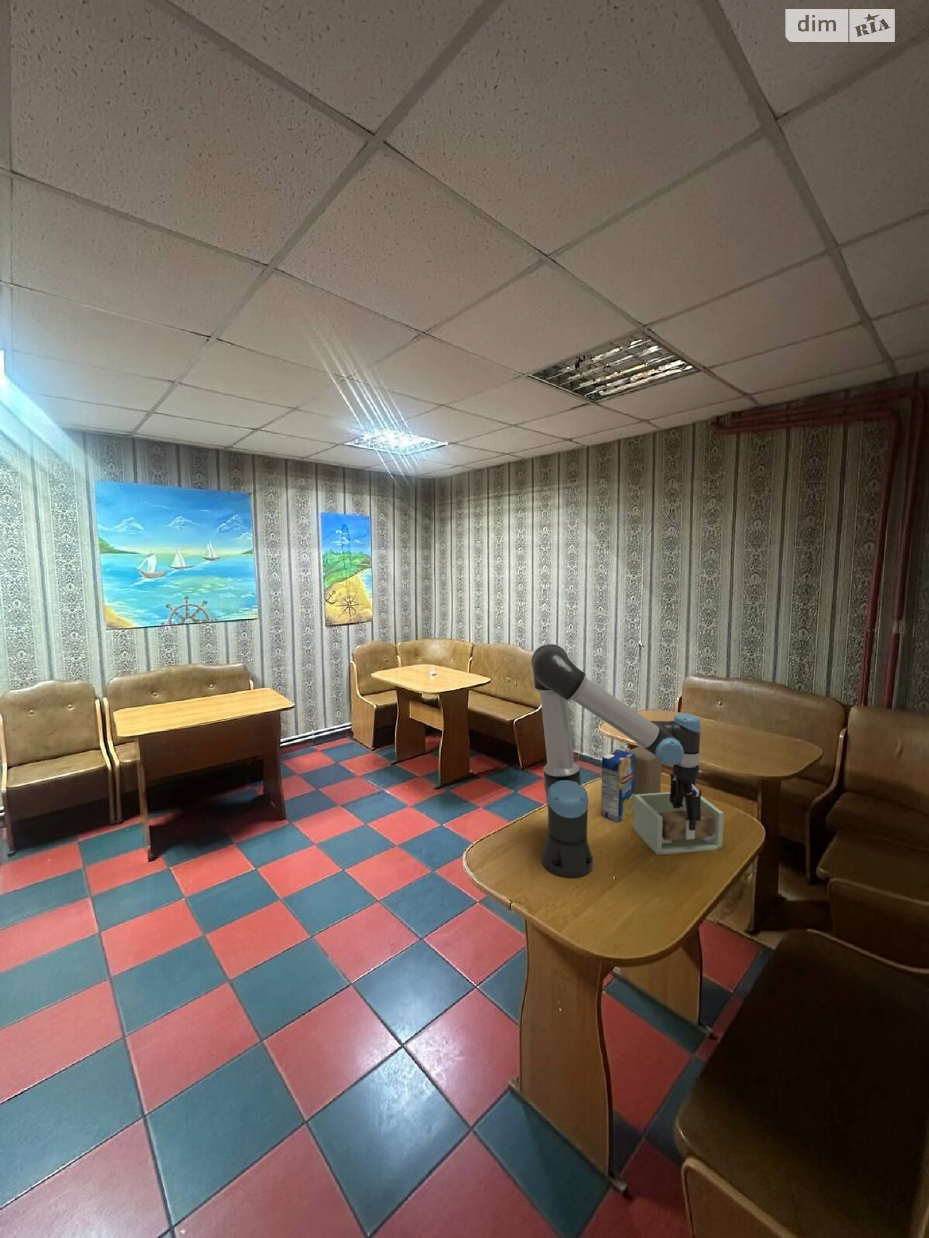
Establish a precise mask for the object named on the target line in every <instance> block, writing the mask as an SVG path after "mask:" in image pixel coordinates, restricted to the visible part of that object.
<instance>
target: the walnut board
mask: <svg viewBox="0 0 929 1238" xmlns="http://www.w3.org/2000/svg"><path fill="white" fill-rule="evenodd" d="M658 814H659V815H660V816H661V817H662V818H663V821H662V837H663V838H664V839H665V840H674V839H686V838H685V831H686V818H688V817H687V810H683V811H671V812H658ZM713 822H714V818H713V817H712V816H710V815H709V814H708V813H707V812H705V811H704V810H703V809H701V820H700V821H696V824H695V838H697V837H709V836H713Z"/></svg>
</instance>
